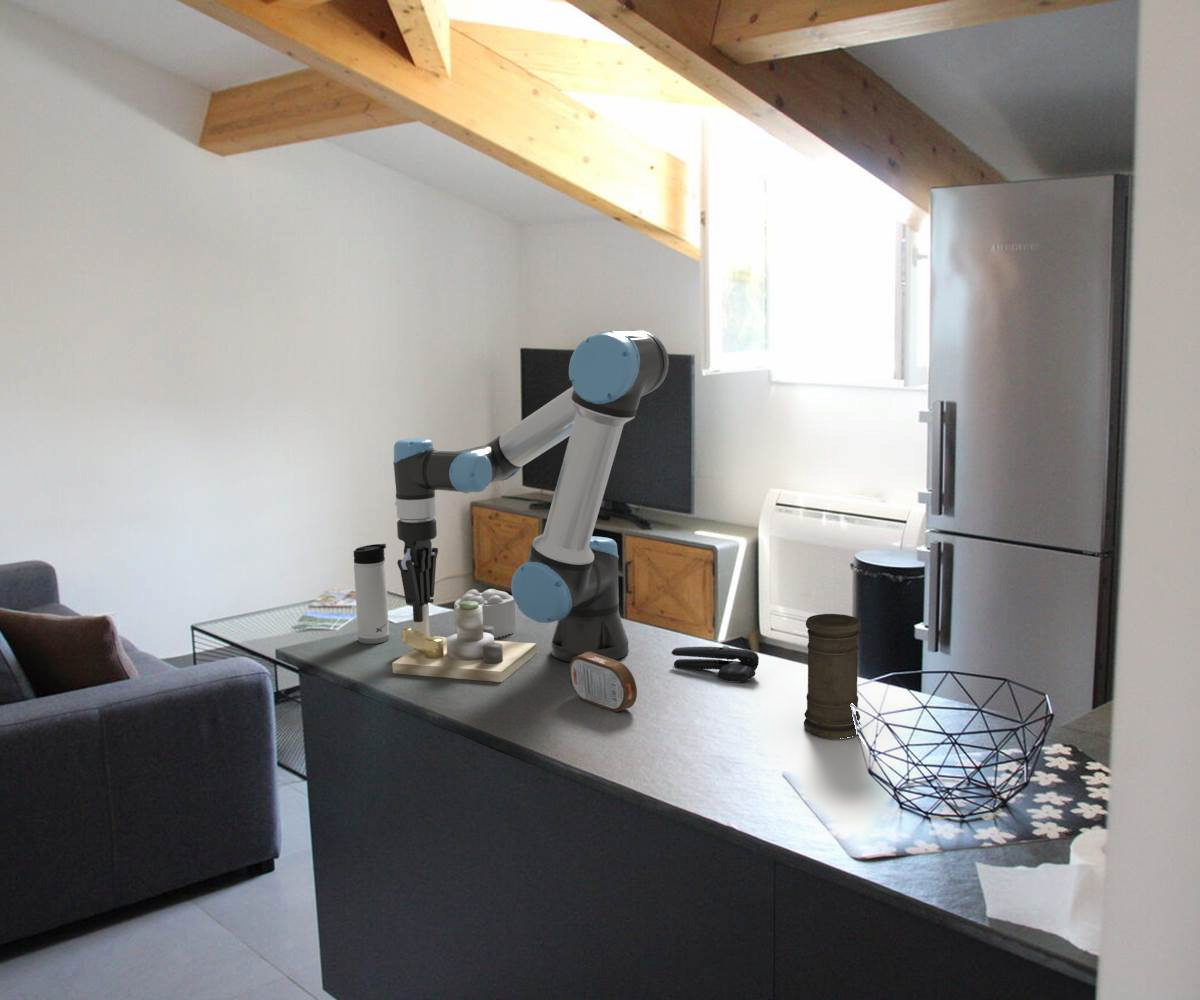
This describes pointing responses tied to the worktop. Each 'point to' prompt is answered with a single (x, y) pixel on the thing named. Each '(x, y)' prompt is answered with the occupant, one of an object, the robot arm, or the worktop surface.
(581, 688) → the tin
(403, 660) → the base
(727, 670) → the can opener
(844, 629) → the container
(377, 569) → the travel mug
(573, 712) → the worktop surface
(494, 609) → the paw-shaped mold
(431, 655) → the brass ball lever
